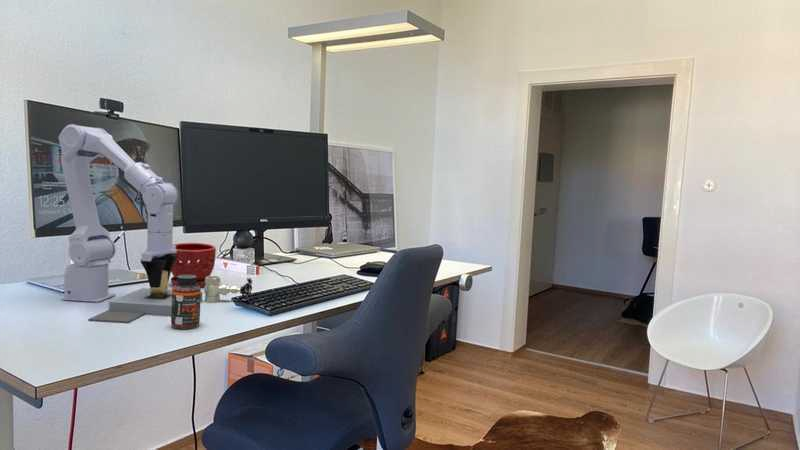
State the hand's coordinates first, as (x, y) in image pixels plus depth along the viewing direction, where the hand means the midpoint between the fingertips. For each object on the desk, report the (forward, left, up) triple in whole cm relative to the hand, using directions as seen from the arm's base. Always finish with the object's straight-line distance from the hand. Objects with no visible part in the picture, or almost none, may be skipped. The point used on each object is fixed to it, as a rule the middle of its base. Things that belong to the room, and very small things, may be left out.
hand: (159, 285), depth 133 cm
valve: (+14, +9, -6) cm, 18 cm away
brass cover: (0, 0, -3) cm, 3 cm away
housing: (0, 0, -5) cm, 5 cm away
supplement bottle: (+13, -15, -6) cm, 21 cm away
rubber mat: (-4, -11, -5) cm, 13 cm away
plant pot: (-2, +26, -6) cm, 26 cm away
